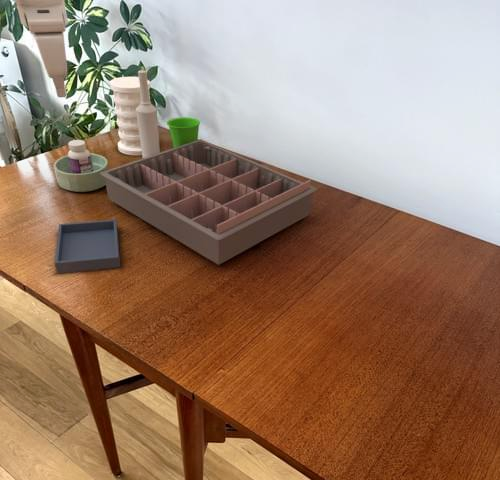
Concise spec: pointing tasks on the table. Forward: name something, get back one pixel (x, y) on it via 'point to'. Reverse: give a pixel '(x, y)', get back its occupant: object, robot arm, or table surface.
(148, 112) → the bottle
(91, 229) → the tray
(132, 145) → the decorative container
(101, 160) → the bowl
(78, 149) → the pill bottle
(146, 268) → the table surface
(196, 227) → the organizer tray
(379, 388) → the table surface
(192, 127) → the cup
